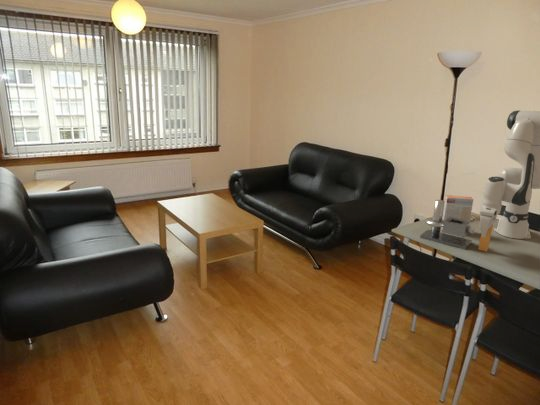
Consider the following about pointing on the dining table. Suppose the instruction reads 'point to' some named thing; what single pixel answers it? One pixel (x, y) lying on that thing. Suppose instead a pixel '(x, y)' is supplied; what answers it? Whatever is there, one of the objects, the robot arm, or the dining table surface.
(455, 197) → the cracker box
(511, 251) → the dining table surface
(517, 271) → the dining table surface
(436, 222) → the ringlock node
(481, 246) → the orange rectangular bar
